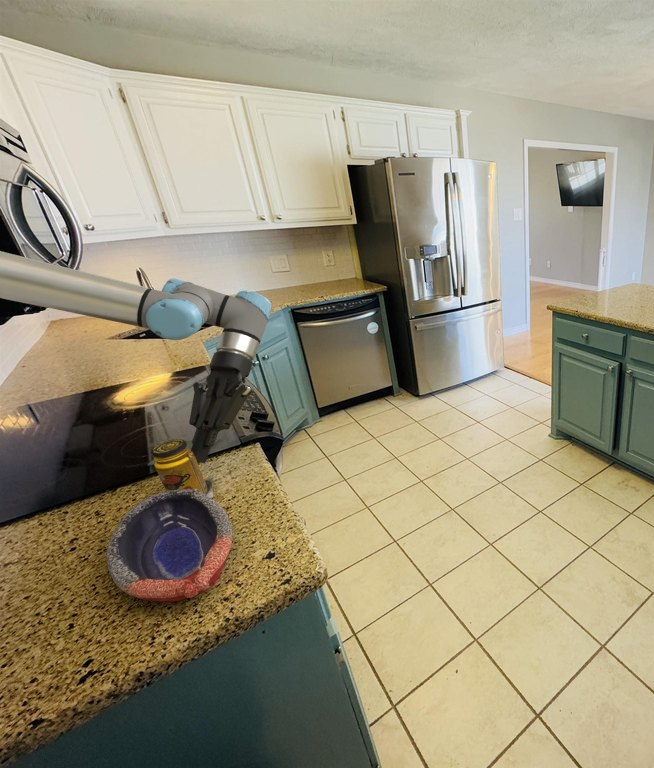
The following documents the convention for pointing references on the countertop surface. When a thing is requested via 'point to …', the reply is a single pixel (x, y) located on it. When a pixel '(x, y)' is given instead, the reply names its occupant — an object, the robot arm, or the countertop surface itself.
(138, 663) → the countertop surface
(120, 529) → the dish
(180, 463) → the condiment
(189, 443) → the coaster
